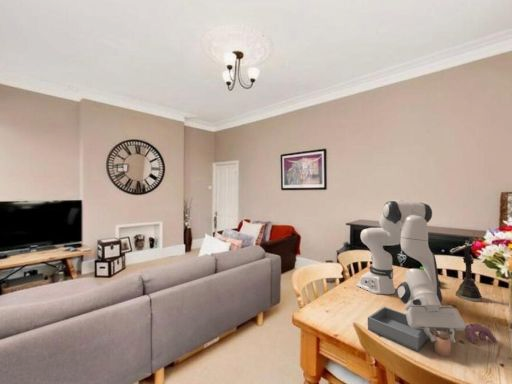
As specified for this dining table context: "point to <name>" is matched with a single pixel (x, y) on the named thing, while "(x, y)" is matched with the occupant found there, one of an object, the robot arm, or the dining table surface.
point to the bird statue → (467, 276)
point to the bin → (397, 328)
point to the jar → (442, 343)
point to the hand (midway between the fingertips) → (443, 341)
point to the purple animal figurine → (482, 331)
